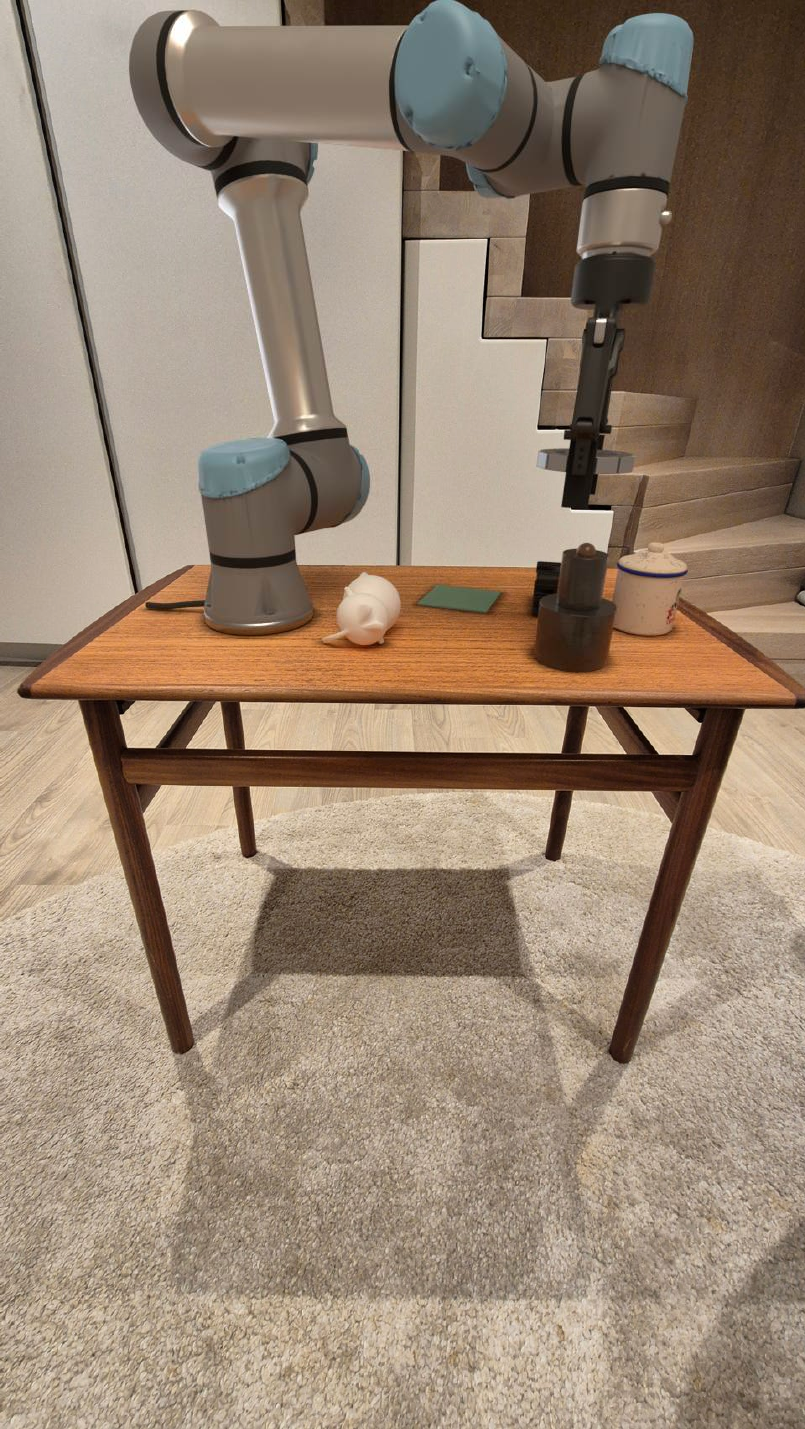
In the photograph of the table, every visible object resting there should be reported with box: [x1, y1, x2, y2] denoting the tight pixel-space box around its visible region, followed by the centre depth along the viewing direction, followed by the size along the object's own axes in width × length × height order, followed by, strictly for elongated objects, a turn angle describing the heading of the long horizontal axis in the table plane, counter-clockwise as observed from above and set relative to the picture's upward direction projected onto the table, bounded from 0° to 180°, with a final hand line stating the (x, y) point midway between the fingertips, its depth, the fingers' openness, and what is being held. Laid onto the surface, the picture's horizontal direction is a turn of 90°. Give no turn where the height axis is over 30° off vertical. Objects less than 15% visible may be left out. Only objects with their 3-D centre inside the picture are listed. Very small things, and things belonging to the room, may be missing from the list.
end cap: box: [531, 560, 561, 618], centre depth 91 cm, size 10×7×7 cm
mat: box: [416, 584, 502, 614], centre depth 96 cm, size 11×11×1 cm
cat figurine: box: [321, 571, 402, 646], centre depth 79 cm, size 9×11×12 cm
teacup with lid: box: [611, 541, 689, 637], centre depth 84 cm, size 12×9×12 cm
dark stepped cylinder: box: [532, 542, 617, 673], centre depth 72 cm, size 9×9×14 cm
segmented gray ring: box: [536, 447, 636, 475], centre depth 66 cm, size 10×10×2 cm
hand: (579, 500), depth 68 cm, fingers closed on segmented gray ring, 10 cm apart
